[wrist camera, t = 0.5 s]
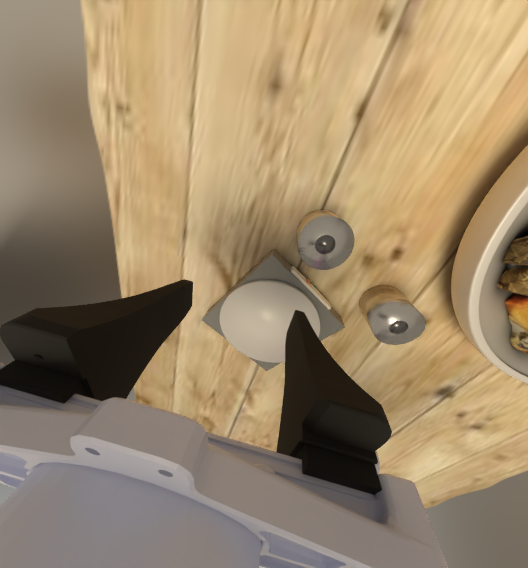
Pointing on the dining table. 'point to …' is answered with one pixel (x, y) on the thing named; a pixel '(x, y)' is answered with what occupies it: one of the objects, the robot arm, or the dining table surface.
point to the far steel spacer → (391, 315)
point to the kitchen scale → (270, 310)
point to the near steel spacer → (324, 240)
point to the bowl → (497, 273)
